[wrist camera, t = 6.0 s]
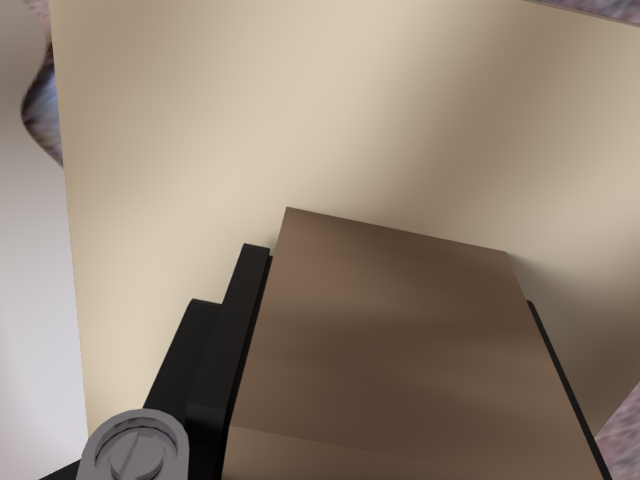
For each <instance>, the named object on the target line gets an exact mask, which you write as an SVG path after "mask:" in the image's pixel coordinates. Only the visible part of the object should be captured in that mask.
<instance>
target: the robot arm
mask: <svg viewBox="0 0 640 480" xmlns="http://www.w3.org/2000/svg"><path fill="white" fill-rule="evenodd" d="M269 254H270V248H267V247H262V246H257V245H252V244H247V243H244V244H243V246H242V249H241V252H240V255H239V257H238V260H237V263H236V266H235V269H234V271H233V274H232V277H231V280H230V282H229V285H228V288H227V291H226V294H225V296H224V299H223V302H222V304H220V303H215V302H210V301H204V300H199V299H194V298H193V299H192V300H191V301H190V302H189V304H188V306H187V309H186V311H185V313H184V315H183V317H182V320H181V322H180V324H179V326H178V329H177V331H176V333H175V335H174V338H173V340H172V342H171V344H170V347H169V349H168V351H167V353H166V356H165V358H164V360H163V362H162V365H161V367H160V369H159V371H158V374H157V376H156V378H155V380H154V383H153V385H152V387H151V389H150V392H149V394H148V396H147V398H146V400H145V403H144V405H143V407H142V409H135V410H128V411H125V412H123V413H120V414H117V415H115V416H112V417H111V418H110V419H108V420H107V421H105V422H104V423H102V424H101V425H99V427H98V428H97V429H96V430H95V431H94V432H93V434H92V435H91V436H90V437H89V439H88V442H87V443H86V446H85V448H84V450H83V453H82V457H81V459H80V460H78V461H76V462H74V463H72V464H70V465H68V466H66V467H64V468H62V469H60V470H58V471H55V472H53V473H52V474H49V475H48V476H45V477H43V478H41V479H39V480H221V478H222V471H223V465H224V459H225V452H226V446H227V439H228V433H229V426H230V422H231V418H232V414H233V411H234V407H235V403H236V399H237V395H238V391H239V387H240V383H241V380H242V376H243V372H244V368H245V364H246V360H247V356H248V353H249V349H250V345H251V341H252V337H253V333H254V329H255V325H256V322H257V318H258V314H259V310H260V306H261V302H262V298H263V295H264V291H265V287H266V283H267V279H268V275H269V271H270V267H271V264H272V260H273V256H271V255H269ZM526 301H527V304H528V306H529V308H530V311H531V313H532V315H533V318H534V320H535V322H536V325H537V327H538V329H539V331H540V334H541V336H542V338H543V341H544V343H545V345H546V348H547V350H548V352H549V355H550V357H551V359H552V362H553V364H554V366H555V368H556V371H557V373H558V375H559V378H560V380H561V382H562V385H563V387H564V389H565V392H566V394H567V396H568V399H569V401H570V403H571V406H572V408H573V410H574V412H575V415H576V417H577V419H578V422H579V424H580V426H581V429H582V431H583V433H584V436H585V438H586V440H587V443H588V445H589V447H590V449H591V452H592V454H593V456H594V459H595V461H596V463H597V466H598V468H599V470H600V473H601V475H602V477H603V480H612V477H611V475H610V473H609V471H608V468H607V466H606V464H605V462H604V460H603V457H602V455H601V453H600V451H599V448H598V446H597V444H596V442H595V439H594V437H593V435H592V433H591V431H590V428H589V426H588V424H587V422H586V419H585V417H584V415H583V413H582V410H581V408H580V406H579V404H578V401H577V399H576V397H575V395H574V393H573V390H572V388H571V386H570V384H569V381H568V379H567V377H566V375H565V373H564V371H563V368H562V366H561V364H560V362H559V359H558V357H557V355H556V353H555V350H554V348H553V346H552V344H551V342H550V339H549V337H548V335H547V333H546V330H545V328H544V326H543V324H542V321H541V319H540V317H539V315H538V312H537V310H536V308H535V306H534V304H533V303H532V302H531V301H529V300H526Z"/></svg>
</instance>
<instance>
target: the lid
mask: <svg viewBox="0 0 640 480" xmlns="http://www.w3.org/2000/svg"><path fill="white" fill-rule="evenodd" d="M49 10H50V21H51V32H52V43H53V54H54V65H55V76H56V87H57V98H58V109H59V120H60V131H61V142H62V153H63V164H64V173H65V174H64V175H65V185H66V196H67V206H68V207H67V208H68V218H69V229H70V240H71V251H72V261H73V273H74V284H75V295H76V306H77V317H78V328H79V339H80V350H81V360H82V371H83V383H84V394H85V405H86V416H87V427H88V438H89V437H90V436H91V435H92V434H93V432H94V431H95V430H96V429H97V428H98V427H99V425H101V424H102V423H104V422H105V421H107V420H108V419H110V418H111V417H112V416H115V415H117V414H120V413H123V412H125V411H128V410H135V409H142V407H143V405H144V403H145V400H146V398H147V396H148V394H149V392H150V389H151V387H152V385H153V383H154V380H155V378H156V376H157V374H158V371H159V369H160V367H161V365H162V362H163V360H164V358H165V356H166V353H167V351H168V349H169V347H170V344H171V342H172V340H173V338H174V335H175V333H176V331H177V329H178V326H179V324H180V322H181V320H182V317H183V315H184V313H185V311H186V309H187V306H188V304H189V302H190V301H191V300H192V299H193V298H194V299H199V300H204V301H210V302H215V303H220V304H222V302H223V299H224V296H225V294H226V291H227V288H228V285H229V282H230V280H231V277H232V274H233V271H234V269H235V266H236V263H237V260H238V257H239V255H240V252H241V249H242V246H243V244H244V243H247V244H252V245H257V246H262V247H267V248H270V254H269V255H271V256H273V260H272V264H271V267H270V271H269V275H268V279H267V283H266V287H265V291H264V295H263V298H262V302H261V306H260V310H259V314H258V318H257V322H256V325H255V329H254V333H253V337H252V341H251V345H250V349H249V353H248V356H247V360H246V364H245V368H244V372H243V376H242V380H241V383H240V387H239V391H238V395H237V399H236V403H235V407H234V411H233V414H232V418H231V422H230V426H229V433H228V439H227V446H226V452H225V459H224V465H223V471H222V478H221V480H603V477H602V475H601V473H600V470H599V468H598V466H597V463H596V461H595V459H594V456H593V454H592V452H591V449H590V447H589V445H588V443H587V440H586V438H585V436H584V433H583V431H582V429H581V426H580V424H579V422H578V419H577V417H576V415H575V412H574V410H573V408H572V406H571V403H570V401H569V399H568V396H567V394H566V392H565V389H564V387H563V385H562V382H561V380H560V378H559V375H558V373H557V371H556V368H555V366H554V364H553V362H552V359H551V357H550V355H549V352H548V350H547V348H546V345H545V343H544V341H543V338H542V336H541V334H540V331H539V329H538V327H537V325H536V322H535V320H534V318H533V315H532V313H531V311H530V308H529V306H528V304H527V301H526V300H529V301H531V302H532V303H533V304H534V306H535V308H536V310H537V312H538V315H539V317H540V319H541V321H542V324H543V326H544V328H545V330H546V333H547V335H548V337H549V339H550V342H551V344H552V346H553V348H554V350H555V353H556V355H557V357H558V359H559V362H560V364H561V366H562V368H563V371H564V373H565V375H566V377H567V379H568V381H569V384H570V386H571V388H572V390H573V393H574V395H575V397H576V399H577V401H578V404H579V406H580V408H581V410H582V413H583V415H584V417H585V419H586V422H587V424H588V426H589V428H590V431H591V433H592V435H593V437H595V436H596V435H597V433H598V432H599V431H600V430H601V428H602V427H603V426H604V425H605V423H606V422H607V421H608V420H609V418H610V417H611V416H612V415H613V413H614V412H615V411H616V410H617V408H618V407H619V406H620V405H621V404H622V402H623V401H624V400H625V399H626V397H627V396H628V395H629V394H630V392H631V391H632V390H633V389H634V387H635V386H636V385H637V384H638V382H639V381H640V24H637V23H633V22H628V21H624V20H620V19H615V18H611V17H607V16H602V15H598V14H594V13H590V12H585V11H581V10H577V9H572V8H568V7H564V6H559V5H555V4H551V3H546V2H542V1H538V0H49Z"/></svg>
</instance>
